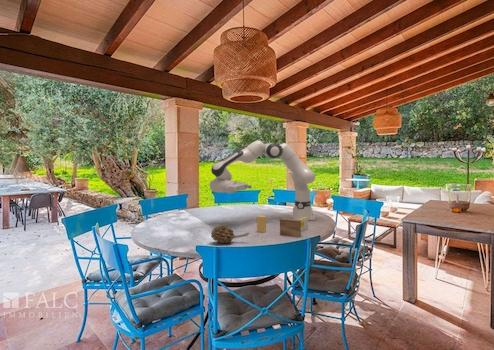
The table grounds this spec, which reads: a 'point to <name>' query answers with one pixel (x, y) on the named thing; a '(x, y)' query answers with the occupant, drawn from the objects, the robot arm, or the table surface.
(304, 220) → the candy box
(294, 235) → the walnut board
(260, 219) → the ochre stub
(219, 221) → the table surface
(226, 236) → the pine cone
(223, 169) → the robot arm
